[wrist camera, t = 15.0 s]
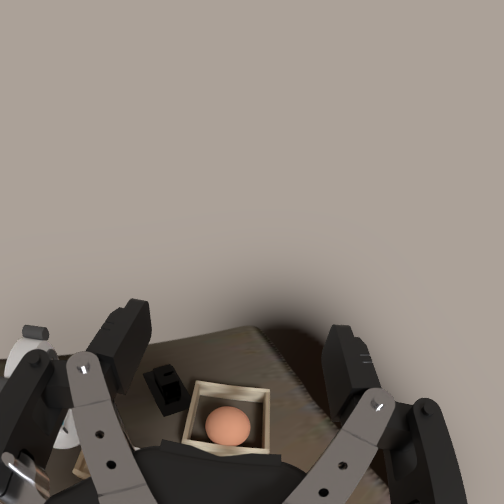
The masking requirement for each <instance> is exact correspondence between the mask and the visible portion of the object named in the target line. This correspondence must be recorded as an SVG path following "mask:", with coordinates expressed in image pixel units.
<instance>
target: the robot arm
mask: <svg viewBox="0 0 504 504" xmlns="http://www.w3.org/2000/svg"><path fill="white" fill-rule="evenodd" d="M151 332H152V327H151V319H150V310H149V303H148V302H147V301H143V300H138V299H133V298H132V299H130V300H129V302H128V303H127V305H126V306H125V308H120V307H119V308H118V309H116V310H115V311H113V312H112V313H111V314H110V315H109V316H108V318H107V319H106V321H105V323H104V324H103V325H102V327H101V329H100V330H99V331H98V333H97V334H96V336H95V337H94V339H93V340H92V342H91V343H90V345H89V346H88V348H87V349H86V351H82V352H78V353H75V354H74V355H72V356H71V357H70V358H69V359H68V360H51V359H50V357H49V355H48V353H47V352H46V351H44V350H41V349H34V350H31V351H29V352H27V353H26V354H25V355H24V356H23V358H22V359H21V361H20V362H19V364H18V365H17V367H16V368H15V370H14V371H13V373H12V374H11V376H10V378H9V379H8V381H7V382H6V384H5V386H4V387H3V389H2V391H1V392H0V502H1V503H2V504H345V503H346V501H347V500H348V498H349V497H350V495H351V494H352V492H353V491H354V489H355V488H356V486H357V484H358V483H359V481H360V480H361V478H362V476H363V475H364V473H365V471H366V470H367V468H368V466H369V464H370V463H371V461H372V459H373V457H374V456H375V454H376V452H377V449H378V448H381V449H383V451H384V457H385V463H386V470H387V476H388V484H389V492H390V500H391V504H467V499H466V494H465V489H464V485H463V481H462V477H461V473H460V469H459V465H458V462H457V458H456V455H455V451H454V448H453V445H452V441H451V438H450V435H449V432H448V429H447V426H446V423H445V420H444V417H443V414H442V412H441V409H440V407H439V406H438V404H437V403H436V402H435V401H433V400H431V399H429V398H421V399H418V400H417V401H416V402H415V403H414V404H413V405H409V404H404V403H399V402H396V401H395V400H394V398H393V396H392V395H391V394H390V393H389V392H388V391H386V390H384V389H382V388H381V386H380V382H379V379H378V376H377V374H376V371H375V368H374V365H373V363H372V359H371V357H370V356H369V351H368V348H367V346H366V344H365V343H364V342H363V341H362V340H361V339H360V338H358V337H354V335H353V332H352V330H351V327H350V326H348V325H332V327H331V329H330V332H329V335H328V337H327V340H326V343H325V345H324V348H323V351H322V367H323V372H324V378H325V383H326V389H327V395H328V400H329V407H330V413H331V419H332V422H336V421H337V422H338V421H341V426H342V427H341V428H340V430H339V431H338V433H337V434H336V435H335V437H334V438H333V440H332V441H331V442H330V444H329V445H328V447H327V448H326V449H325V451H324V452H323V453H322V455H321V456H320V457H319V458H318V460H317V461H316V462H315V463H314V465H313V466H312V467H311V468H310V469H309V471H308V472H307V473H305V472H304V471H302V470H301V469H299V468H297V467H295V466H293V465H291V464H288V463H285V462H281V455H277V454H257V453H249V454H241V455H232V456H217V455H214V454H212V453H209V452H206V451H204V450H201V449H199V448H196V447H194V446H191V445H187V444H182V443H177V442H172V441H167V440H163V439H162V442H161V445H160V446H151V447H145V448H141V449H138V450H136V451H135V449H134V446H133V444H132V442H131V440H130V438H129V436H128V434H127V431H126V429H125V427H124V424H123V422H122V419H121V417H120V414H119V411H118V409H117V406H116V403H115V401H114V398H115V396H116V394H117V393H119V394H123V395H126V393H127V390H128V388H129V386H130V384H131V381H132V379H133V377H134V374H135V372H136V370H137V368H138V365H139V363H140V361H141V359H142V357H143V354H144V352H145V350H146V348H147V346H148V344H149V341H150V338H151ZM69 409H71V410H72V416H73V420H74V424H75V428H76V431H77V435H78V438H79V442H80V445H81V448H82V452H83V455H84V458H85V461H86V464H87V466H88V469H89V472H90V475H91V476H90V477H88V478H86V479H84V480H83V481H81V482H79V483H77V484H75V485H73V486H71V487H69V488H67V489H65V490H63V491H61V492H59V493H57V494H55V495H53V496H51V497H50V495H49V490H50V486H49V478H48V475H47V473H46V472H45V471H44V470H45V468H46V465H47V462H48V459H49V457H50V454H51V451H52V449H53V446H54V443H55V441H56V438H57V436H58V433H59V431H60V429H61V426H62V424H63V421H64V419H65V417H66V414H67V412H68V410H69Z"/></svg>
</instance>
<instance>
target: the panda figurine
mask: <svg viewBox="0 0 504 504" xmlns="http://www.w3.org/2000/svg"><path fill="white" fill-rule="evenodd" d="M22 334H23V338H20V339H19V340H18V341H17V342H16V343H15V345H14V347H13V348H12V350H11V352H10V354H9V356H8V359H7V362H6V366H5V372H4V377H2V376H1V377H0V392H1V391H2V389H3V387H4V386H5V384H6V382H7V381H8V379H9V378H10V376H11V374H12V373H13V371H14V370H15V368H16V367H17V365H18V364H19V362H20V361H21V359H22V358H23V356H24V355H25V354H26V353H27V352H29V351H31V350H34V349H41V350H44V351H46V352H47V353H48V355H49V357H50V359H51V360H59V358H58V355H57V353H56V351H55V349H54V348H53V346H52V345H51V344H50V343H49V342H48V341H47V340H48V338H49V332H48V330H47V328H46V327H38V326H30V325H25V326H24V327H23V330H22ZM79 444H80V442H79V438H78V435H77V431H76V428H75V424H74V420H73V416H72V410H71V409H69V410H68V412H67V414H66V417H65V419H64V421H63V424H62V426H61V429H60V431H59V433H58V436H57V438H56V441H55V443H54V446H53V448H57V449H69V448H73V447H76V446H78V445H79Z"/></svg>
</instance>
